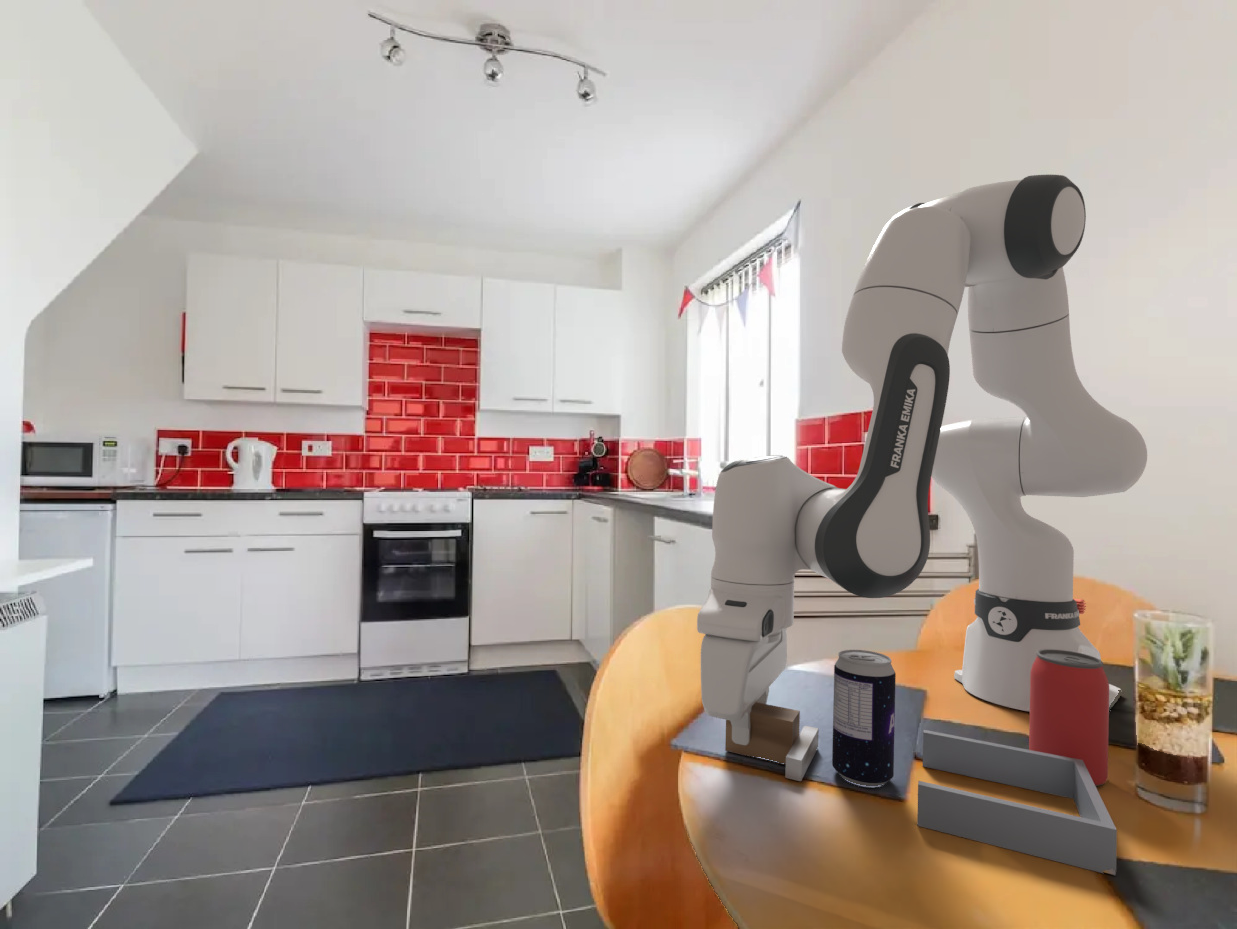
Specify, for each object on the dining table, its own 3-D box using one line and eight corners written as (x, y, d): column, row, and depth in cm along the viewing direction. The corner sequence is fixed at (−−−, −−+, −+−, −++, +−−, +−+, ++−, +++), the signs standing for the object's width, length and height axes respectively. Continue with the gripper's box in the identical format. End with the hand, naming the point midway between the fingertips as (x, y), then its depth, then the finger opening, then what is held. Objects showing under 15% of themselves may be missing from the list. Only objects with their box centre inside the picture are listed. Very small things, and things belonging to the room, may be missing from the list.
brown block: (742, 730, 73) (743, 691, 73) (818, 746, 69) (819, 705, 69) (716, 760, 65) (717, 716, 65) (800, 781, 61) (801, 734, 61)
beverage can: (899, 795, 59) (902, 667, 59) (836, 788, 60) (838, 662, 60) (886, 768, 65) (888, 651, 65) (828, 761, 66) (831, 646, 66)
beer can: (1073, 793, 60) (1075, 667, 61) (1013, 762, 67) (1015, 649, 67) (1124, 786, 62) (1126, 664, 62) (1061, 757, 68) (1063, 646, 69)
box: (922, 763, 66) (923, 729, 66) (1082, 797, 60) (1082, 760, 60) (917, 825, 54) (918, 784, 54) (1116, 876, 48) (1116, 829, 48)
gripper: (749, 587, 79) (747, 698, 79) (690, 619, 61) (686, 763, 60) (801, 593, 76) (798, 708, 76) (754, 628, 58) (751, 779, 57)
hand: (748, 733), depth 68 cm, fingers closed on brown block, 3 cm apart
